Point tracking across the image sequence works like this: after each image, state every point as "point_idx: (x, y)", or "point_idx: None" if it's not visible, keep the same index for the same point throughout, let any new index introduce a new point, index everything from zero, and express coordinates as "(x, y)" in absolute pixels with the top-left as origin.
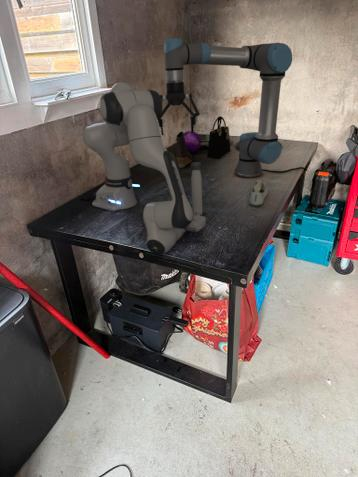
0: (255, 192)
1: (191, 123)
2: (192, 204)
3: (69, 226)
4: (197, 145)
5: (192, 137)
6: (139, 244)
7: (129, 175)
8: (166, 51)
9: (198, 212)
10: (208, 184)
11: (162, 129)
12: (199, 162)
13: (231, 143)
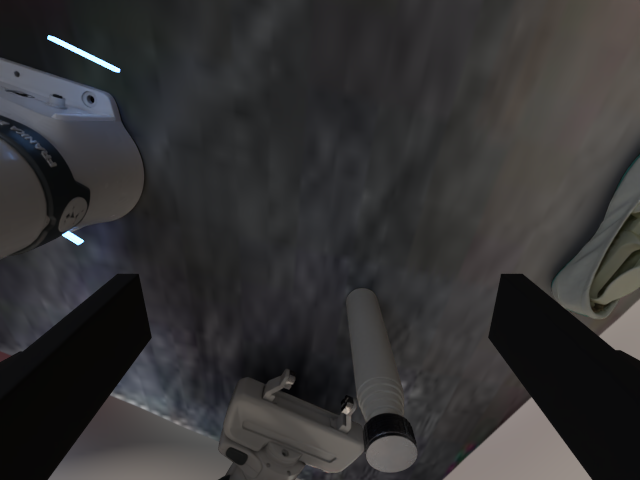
0: (593, 317)
1: (560, 413)
2: (348, 324)
3: None
4: None
5: None
6: (197, 419)
7: (42, 216)
8: None
9: (352, 410)
10: (482, 13)
11: (110, 385)
12: (412, 445)
13: None
